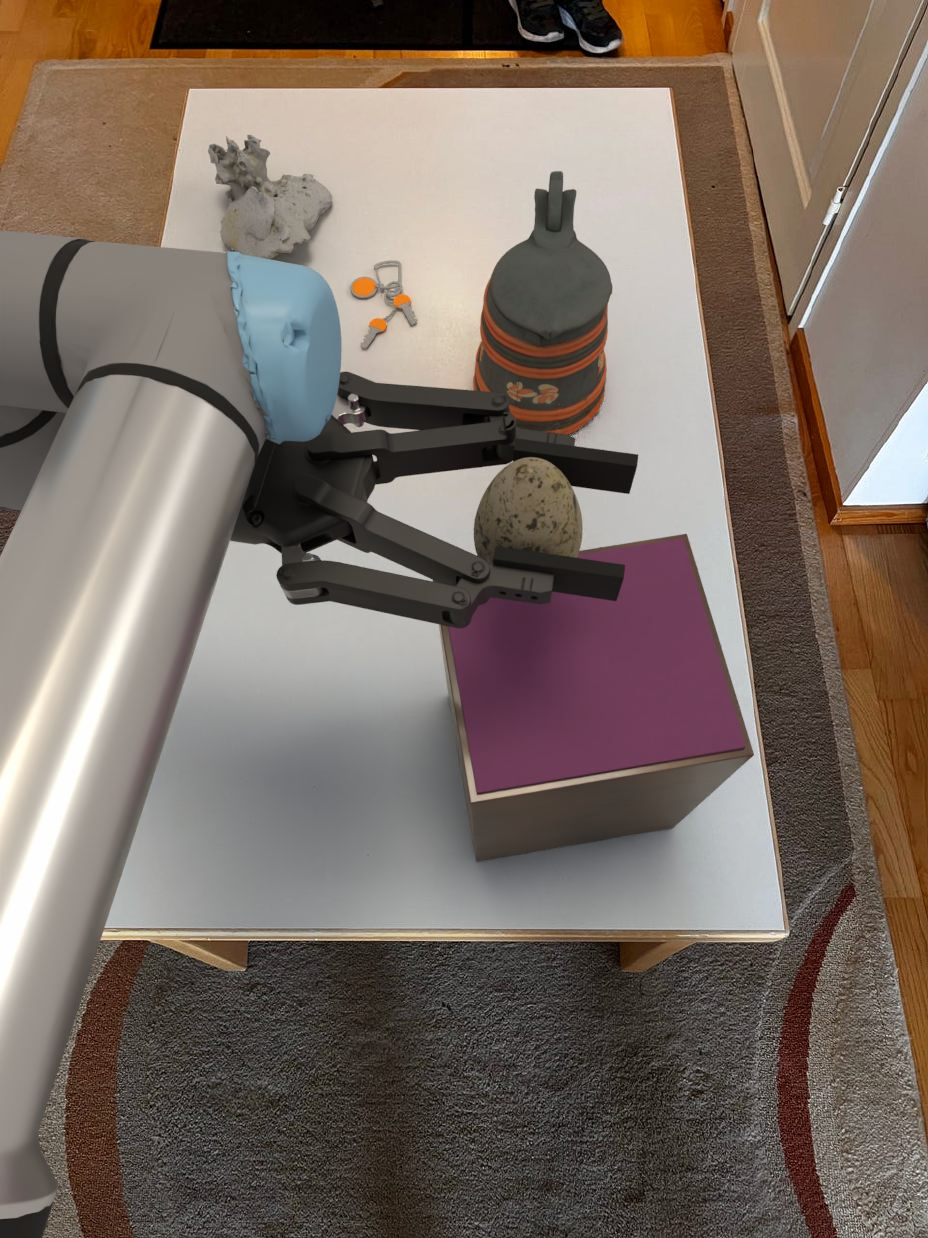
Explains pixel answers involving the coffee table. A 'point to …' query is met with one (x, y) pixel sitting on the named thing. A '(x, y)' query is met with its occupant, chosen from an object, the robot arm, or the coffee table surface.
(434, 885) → the coffee table surface
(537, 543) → the decorative egg
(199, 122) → the coffee table surface
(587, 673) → the cloth
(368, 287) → the key chain
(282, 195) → the coral
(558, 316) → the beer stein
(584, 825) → the plinth
